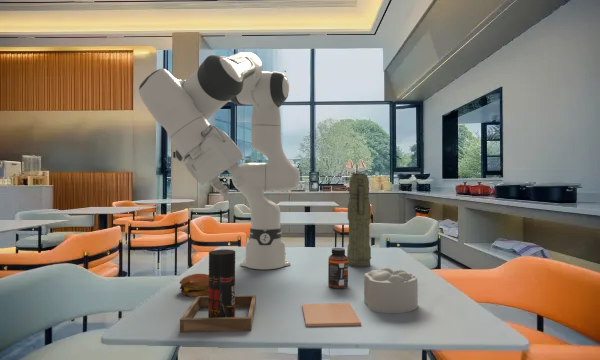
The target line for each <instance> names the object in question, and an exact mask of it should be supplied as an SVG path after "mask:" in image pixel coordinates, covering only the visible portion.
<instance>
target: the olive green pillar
mask: <svg viewBox="0 0 600 360" xmlns="http://www.w3.org/2000/svg"><path fill="white" fill-rule="evenodd" d="M348 193H349V198H348V199H349V200H348V202H347V220H348V245H347V252H346V253H347V254H346V256H347V257H348V266H351V267H354V268H355V267H356V268H367V267H370V266H371V259H372V252H371V251H372V249H371V245H370V221H371V215H372V213H371V211H372V210H371V209H372V207H371V202H370V198H369V194H370V180H369V178H368V175H367V174H366V173H353V174H351V175H350V178H349V182H348Z"/></svg>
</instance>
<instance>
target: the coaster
mask: <svg viewBox="0 0 600 360" xmlns="http://www.w3.org/2000/svg"><path fill="white" fill-rule="evenodd" d="M302 312H303V317H304V322H305V327H309V328H310V327H340V326H341V327H344V326H345V327H346V326H347V327H349V326H362V322H361V320H360V318H359V316H358V315H357V314H356V312H355V309H354V308H353V307H352V305H351V303H350V302H337V303H335V302H334V303H331V302H329V303H322V302H321V303H302Z"/></svg>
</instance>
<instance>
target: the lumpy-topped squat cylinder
mask: <svg viewBox="0 0 600 360" xmlns="http://www.w3.org/2000/svg"><path fill="white" fill-rule="evenodd" d="M363 278H364V279H363V280H364V281H363V296H364V297H363V298H364V299H363V302H364V304H366V305H367V306H368V309H369V310H370V311H373V312H375V313H376V312H377V313H383V314H384V313H385V314H386V313H387V314H391V313H392V314H395V313H396V314H397V313H399V314H400V313H408V312H411V311H415V310H416V309H417V308H418V306H419V305H418V302H419V300H418V296H419V295H418V289H419V288H418V286H419V285H418V277H417V276H416V275H413V274H412V273H408V272H407V271H405V270H403V269H395V270H392V269H391V268H389V267H386V266H385V267H382V268H380V269H372V270H371V271H368V272H365V273H364V276H363Z"/></svg>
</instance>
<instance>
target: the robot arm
mask: <svg viewBox="0 0 600 360" xmlns="http://www.w3.org/2000/svg"><path fill="white" fill-rule="evenodd" d="M138 86H139V87H138V93H139V94H138V95H139V96H140V99H141V101H142V102H143V104H144V106H145V107H146V108H147V110H148V111H149V113H150V114H151V116H152V117H153V118H154V120H155V121H156V123H157V124H159V126H161V127H162V128H164V130H165V131H166V134H167V136H168V139H170V141H171V142H172V144H174V145H173V146H174V149H175V150H174V156H175V157H174V158H175V159H176V160H177V161H178V163H183V166H184V167H185V169H186V170H187V171H188V172H189V174H190V175H191V176H192V177H193V179H194V180H195V181H197V183H199V184H200V185H201V186H205V185H207V184H208V183H209V185H210V186H211V187H212V188H213V189H215V190H217V192H218V193H220V195H221V196H225V195H228V193H230V189H229V188H228V186H227V185H224V184H223V183H222V182H221V181H220V180H221V179H220V178H219V176H220V175H221V174H222V173H224V172H226V171H227V172H228V173H229V174H230V175H231V181H232V184H233V186H234V187H235V189H236V190H238V191H239V192H240V193H241V194H242V195H243V196H244V197H245V198H246V201H247V202H248V205H249V210H250V228H249V240H248V241H247V242H246V243H245V253H244V254H245V255H244V258H245V259H244V260H242V261H241V262H240V266H241V267H246V268H249V269H253V270H275V269H280V268H283V267H288V266H291V262H290V260H288V259H287V257H286V243H285V242H284V240H282V233H283V232H282V228H281V209H280V208H281V207H280V206H279V205H278V204H277V203H275V202H274V201H272V200H270V199H268V198H267V197H266V196H265V192H283V193H284V192H288V191H292V190H295V189H296V188H297V187H298V186H299V184H300V180H301V174H300V171H299V169H298V167H297V166H296V165H295V164H294V163H292V162H291V160H289V158H287V156H286V154H285V152H284V149H283V146H282V132H281V131H282V127H281V126H282V125H281V124H282V123H281V122H282V121H281V110H280V107H281V106H282V104H284V102H286V100H287V98H288V97H289V91H290V84H289V80H288V77H287V75H286V74H284V72H280V71H272V72H271V71H263V63H262V61H261V59H260V58H259V57H258V56H257V55H256V54H254V53H253V52H249V51H248V52H243V51H242V52H237V53H233V54H232V55H229V56H224V55H223V56H222V55H219V54H217V55H215V54H210V55H208V56H207V57H206V58H205V59H204V60H203V62H202V63H201V64H200V65H199V67H198V68H197V69H196V70H195V71H194V72H193V73H192V74H191V75H190V76H189V77H188V78H187V79H179V78H176V77H174V76H173V74H172V73H171V72H170V71H168V70H167V69H166V68H158V69H157V70H154V71H153V72H152V73H150V74H149V75H148V76H146V77H145V79H144V80H143V81H142V82H141V83H140V84H139V85H138ZM229 101H230V102H231V103H232V104H234V105H239V106H243V105H248V106H252V111H251V121H250V122H251V130H250V132H251V134H250V137H251V147H252V149H254V150H255V151H256V152H258V153H260V154H261V155H264V156H265V157H267V160H268V161H267V162H246V163H240V164H238V163H239V162H240V161H241V160H242V159H243V158H244V156H243V153H242V150H241V148H240V147H239V146H238V145H237V144H236V143H235V142H234V140H233V139H232V138H231V137H230V136H229V135H228V134H227V133H226V132H225V131H224V130H222V129H219V127H217V126H214V125H212V124H211V123H210V121H208V119H210V118H211V117H212V116H213V115H215V113H217V112H218V111H219V110H220V109H222V108H223V107H225V105H226V104H228V103H229Z"/></svg>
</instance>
